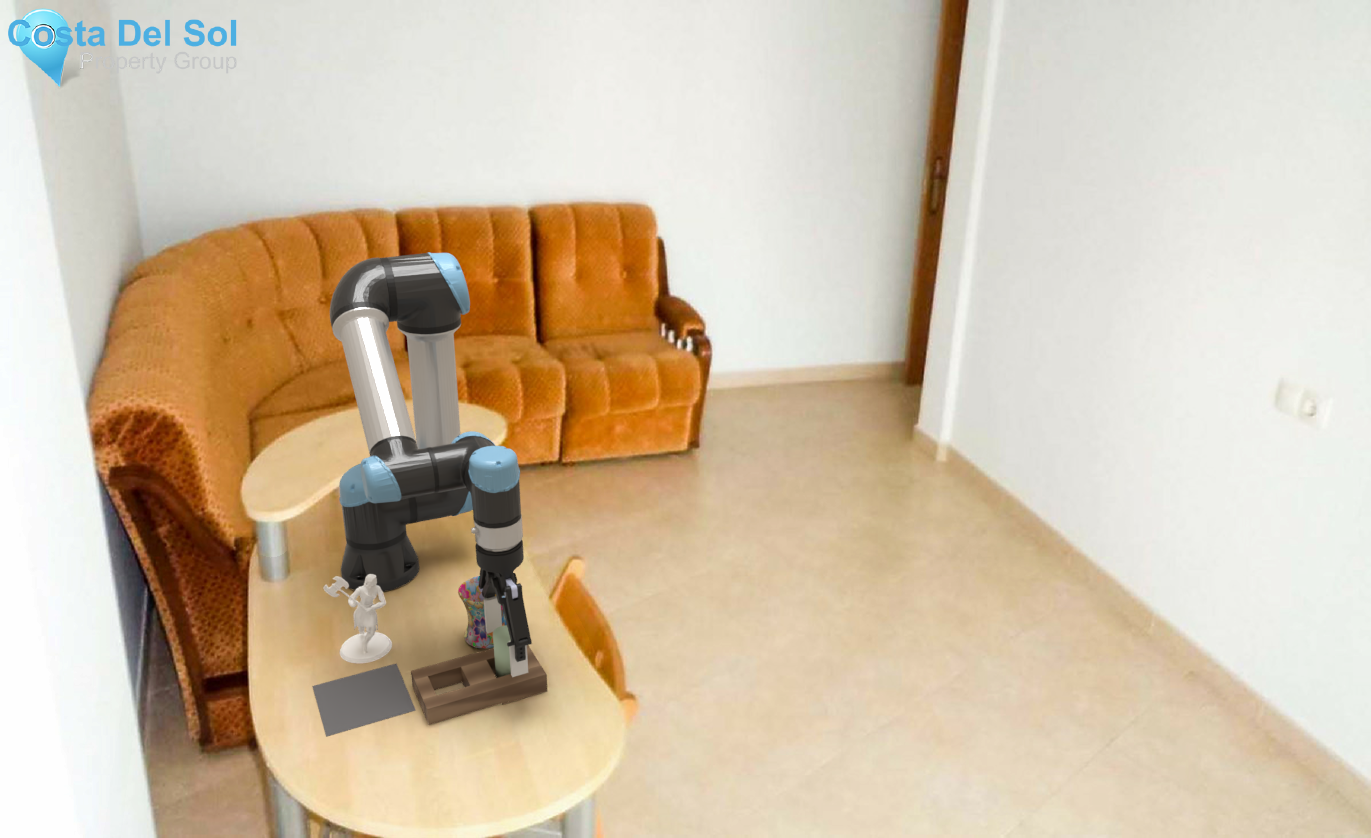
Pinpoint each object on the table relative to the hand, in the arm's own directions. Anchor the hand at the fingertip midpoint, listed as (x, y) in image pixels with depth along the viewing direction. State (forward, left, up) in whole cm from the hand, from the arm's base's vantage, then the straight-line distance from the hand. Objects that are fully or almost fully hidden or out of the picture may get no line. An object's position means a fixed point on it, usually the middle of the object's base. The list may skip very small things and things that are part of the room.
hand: (506, 651), depth 167 cm
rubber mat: (-6, -23, -6) cm, 25 cm away
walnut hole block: (0, -5, -6) cm, 8 cm away
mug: (-15, +1, -6) cm, 16 cm away
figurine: (-20, -20, -6) cm, 29 cm away
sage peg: (0, 0, -6) cm, 6 cm away
